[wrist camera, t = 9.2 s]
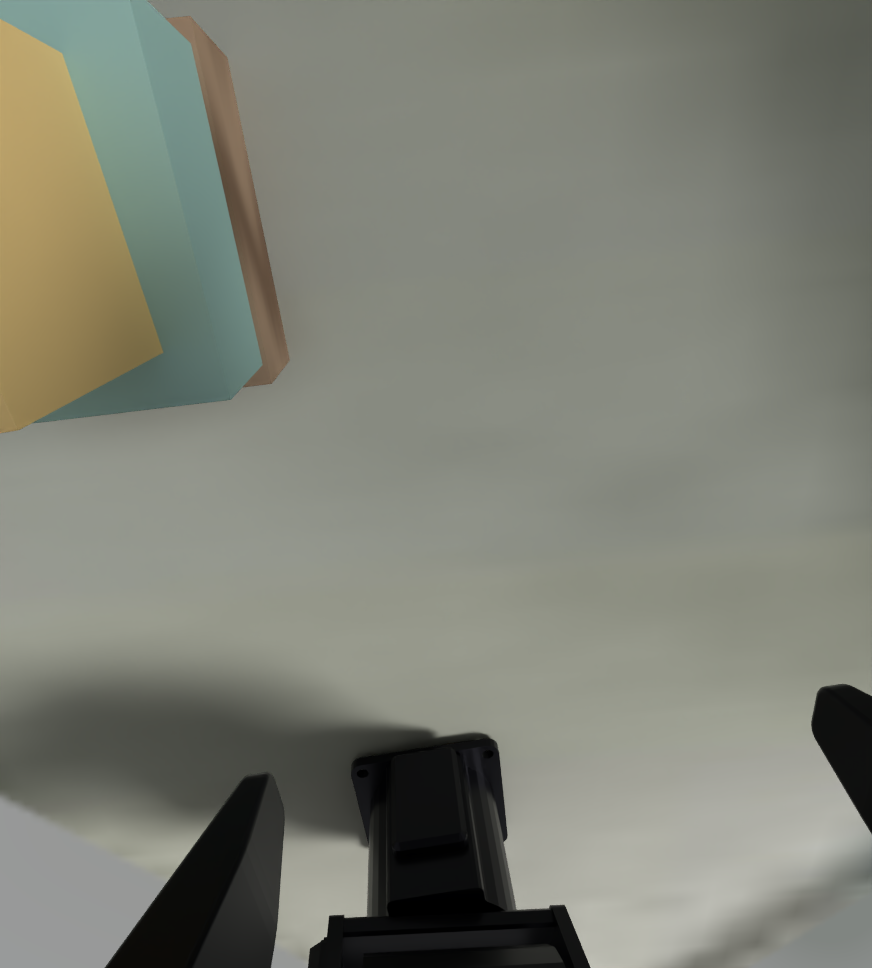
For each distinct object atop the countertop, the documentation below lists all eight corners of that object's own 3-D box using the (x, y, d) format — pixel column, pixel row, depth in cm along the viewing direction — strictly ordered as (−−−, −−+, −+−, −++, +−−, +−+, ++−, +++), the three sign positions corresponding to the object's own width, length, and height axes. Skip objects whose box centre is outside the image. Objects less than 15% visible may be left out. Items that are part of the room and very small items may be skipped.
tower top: (262, 364, 15) (230, 399, 12) (-6, 396, 15) (-110, 440, 12) (190, 43, 12) (123, -22, 9) (-141, 76, 12) (-327, 21, 9)
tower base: (291, 358, 19) (271, 383, 15) (41, 387, 18) (-31, 420, 15) (230, 61, 15) (190, 15, 12) (-74, 92, 15) (-196, 54, 12)
